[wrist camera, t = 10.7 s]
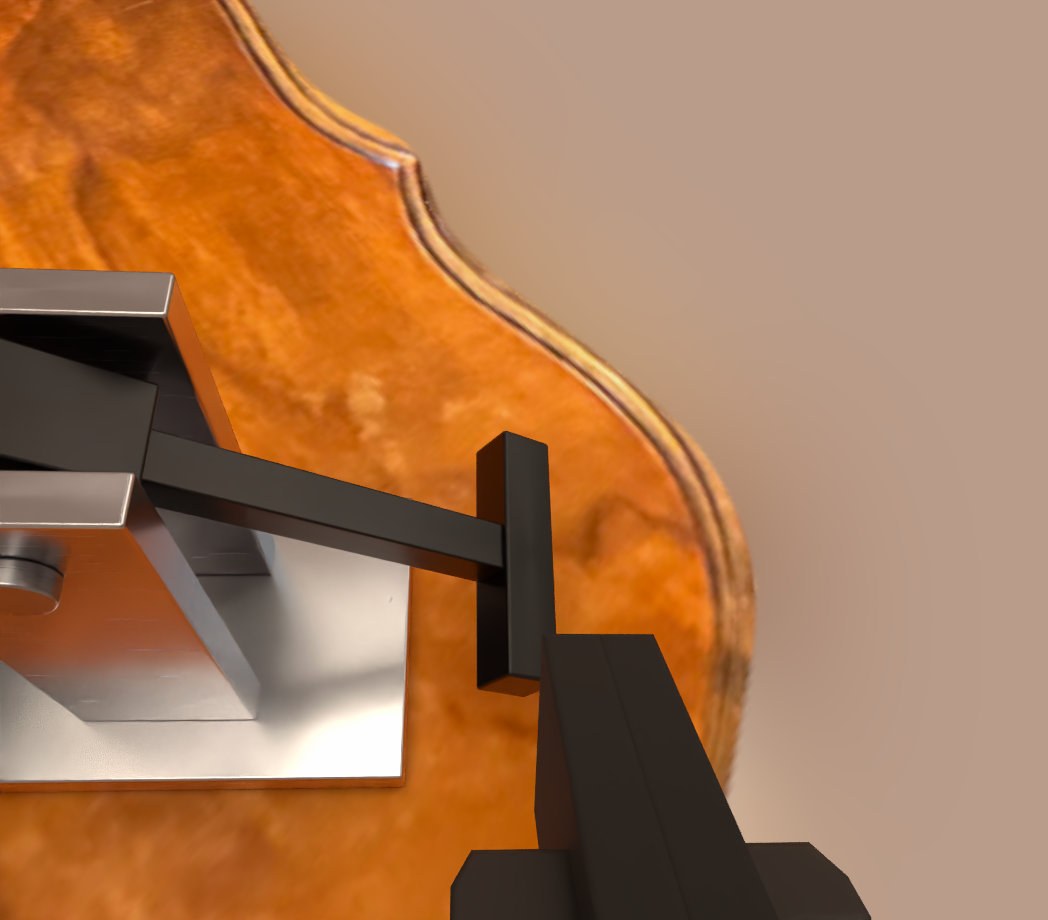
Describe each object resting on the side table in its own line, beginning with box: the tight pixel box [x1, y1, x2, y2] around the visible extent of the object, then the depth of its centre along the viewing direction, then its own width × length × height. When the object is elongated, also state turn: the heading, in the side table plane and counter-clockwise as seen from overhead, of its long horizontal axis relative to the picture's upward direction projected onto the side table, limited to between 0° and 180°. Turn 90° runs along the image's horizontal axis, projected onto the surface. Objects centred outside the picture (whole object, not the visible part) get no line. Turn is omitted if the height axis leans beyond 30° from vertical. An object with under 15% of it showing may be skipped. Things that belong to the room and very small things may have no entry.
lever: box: [0, 337, 556, 697], centre depth 19 cm, size 12×6×2 cm
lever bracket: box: [0, 268, 412, 792], centre depth 21 cm, size 12×8×13 cm, turn 91°
